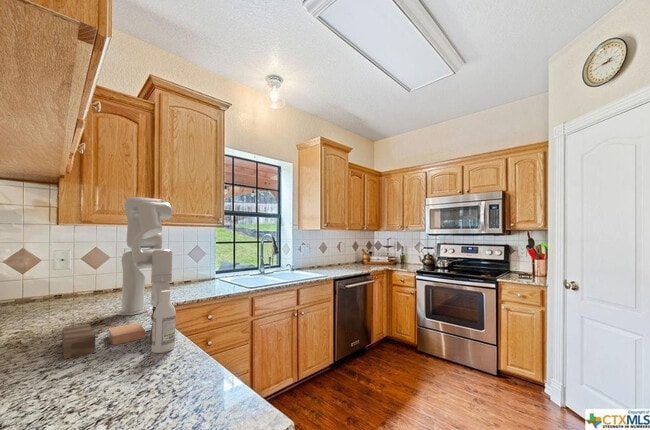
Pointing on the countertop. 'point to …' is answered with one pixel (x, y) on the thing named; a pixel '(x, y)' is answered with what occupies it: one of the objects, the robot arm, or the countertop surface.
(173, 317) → the bath foam
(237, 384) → the countertop surface
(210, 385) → the countertop surface
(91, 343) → the shelf
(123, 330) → the tile
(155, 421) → the countertop surface
